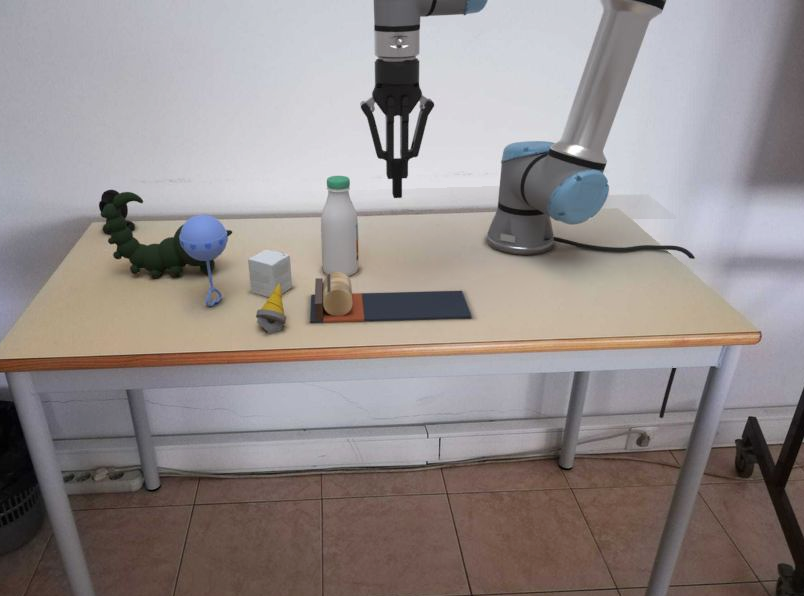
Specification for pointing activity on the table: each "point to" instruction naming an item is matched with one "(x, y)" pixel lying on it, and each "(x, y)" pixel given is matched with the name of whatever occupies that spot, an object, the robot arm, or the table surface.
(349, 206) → the milk bottle
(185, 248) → the baby rattle
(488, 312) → the table surface
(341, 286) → the roller
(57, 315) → the table surface
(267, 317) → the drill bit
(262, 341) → the table surface
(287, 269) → the product box
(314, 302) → the board
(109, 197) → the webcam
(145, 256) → the toy figurine
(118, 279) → the table surface
